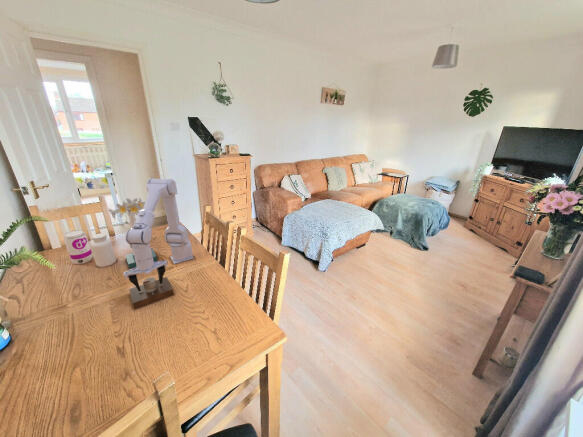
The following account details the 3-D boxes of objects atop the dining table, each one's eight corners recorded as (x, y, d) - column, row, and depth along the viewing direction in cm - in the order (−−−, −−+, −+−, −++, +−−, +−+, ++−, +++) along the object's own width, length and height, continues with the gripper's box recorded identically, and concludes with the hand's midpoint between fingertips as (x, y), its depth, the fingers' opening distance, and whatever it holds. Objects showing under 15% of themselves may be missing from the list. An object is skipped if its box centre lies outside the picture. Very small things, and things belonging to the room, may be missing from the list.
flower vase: (113, 243, 134) (101, 201, 124) (147, 232, 148) (138, 194, 139) (124, 251, 127) (113, 207, 118) (158, 238, 142) (150, 198, 132)
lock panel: (167, 282, 105) (166, 276, 104) (174, 294, 98) (172, 288, 97) (130, 295, 97) (128, 288, 96) (134, 309, 90) (132, 303, 89)
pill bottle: (120, 259, 120) (113, 232, 115) (107, 268, 113) (99, 240, 107) (105, 257, 121) (97, 231, 115) (92, 266, 114) (82, 238, 108)
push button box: (153, 252, 127) (151, 245, 126) (157, 261, 120) (155, 253, 118) (126, 259, 120) (124, 251, 119) (129, 269, 113) (127, 260, 111)
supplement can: (96, 259, 119) (88, 232, 114) (76, 266, 113) (65, 238, 107) (89, 254, 123) (80, 228, 118) (69, 261, 117) (59, 234, 111)
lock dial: (155, 284, 99) (154, 275, 98) (158, 289, 96) (156, 281, 95) (143, 288, 97) (141, 279, 95) (145, 294, 94) (143, 285, 92)
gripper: (122, 268, 84) (130, 299, 89) (167, 256, 92) (172, 284, 97) (120, 259, 89) (128, 289, 94) (162, 248, 97) (167, 276, 102)
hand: (150, 286), depth 96 cm, fingers open, 7 cm apart
